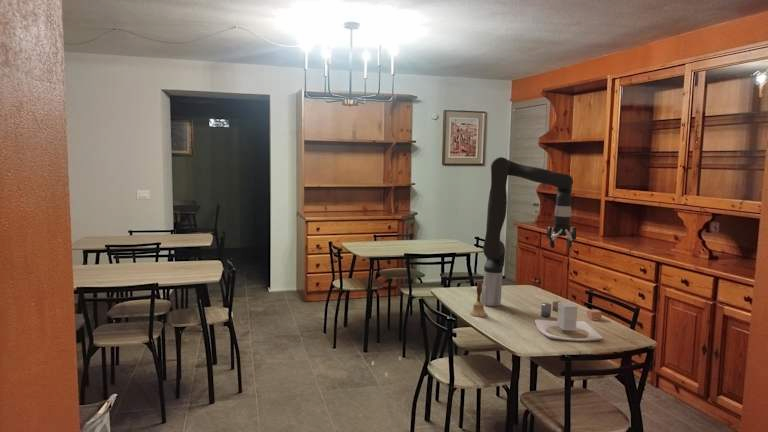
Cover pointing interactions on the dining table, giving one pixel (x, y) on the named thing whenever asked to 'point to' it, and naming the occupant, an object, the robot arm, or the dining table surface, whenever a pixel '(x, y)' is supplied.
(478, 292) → the hand bell
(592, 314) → the terracotta block
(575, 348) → the dining table surface
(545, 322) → the plate
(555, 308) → the walnut block
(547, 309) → the slate grey cylinder
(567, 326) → the small box
